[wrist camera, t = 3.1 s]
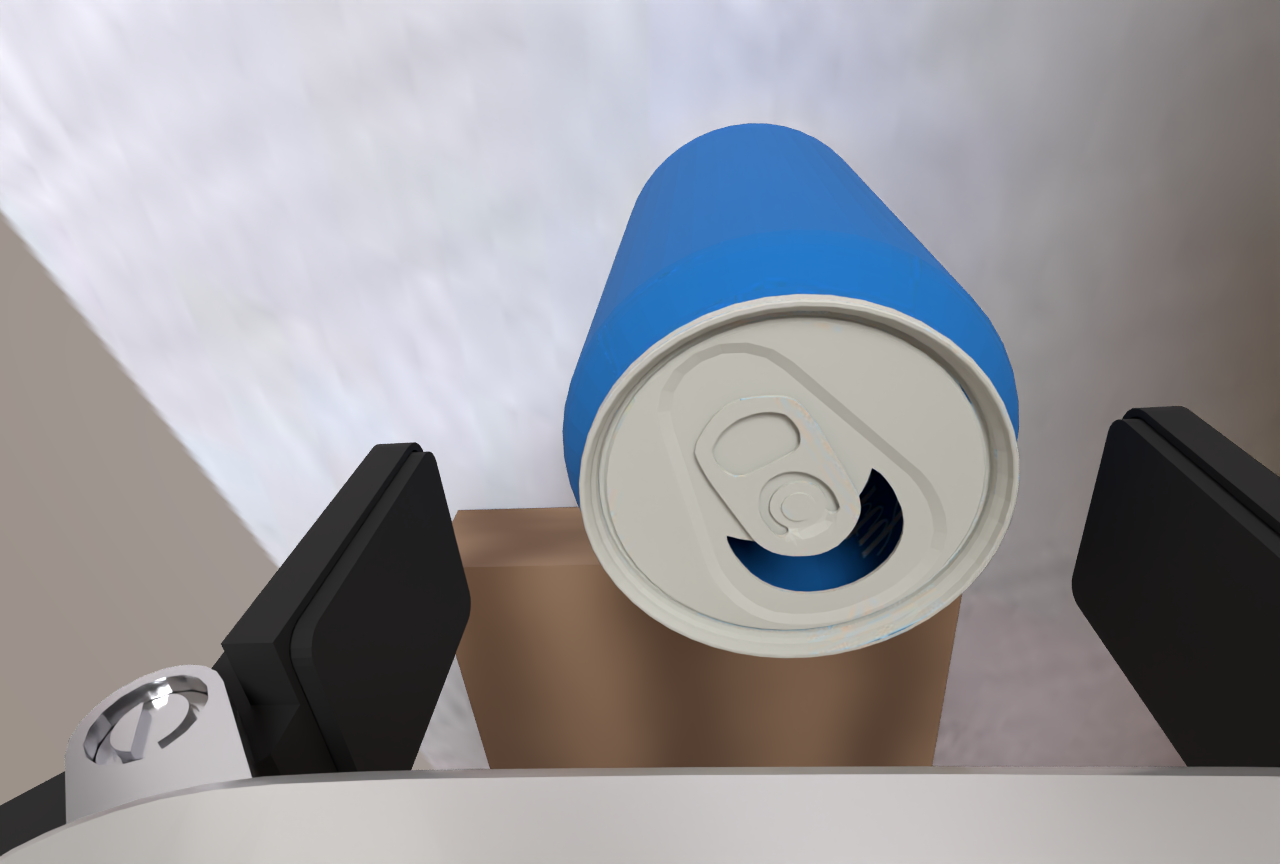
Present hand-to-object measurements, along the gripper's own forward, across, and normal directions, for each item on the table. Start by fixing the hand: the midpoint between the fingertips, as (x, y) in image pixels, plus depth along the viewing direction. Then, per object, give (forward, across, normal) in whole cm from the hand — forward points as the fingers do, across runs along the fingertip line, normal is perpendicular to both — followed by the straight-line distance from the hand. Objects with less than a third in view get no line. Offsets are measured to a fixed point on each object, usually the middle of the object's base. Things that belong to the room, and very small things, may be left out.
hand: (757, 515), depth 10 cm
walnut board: (+12, +1, +14) cm, 18 cm away
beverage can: (+12, -1, -1) cm, 12 cm away
